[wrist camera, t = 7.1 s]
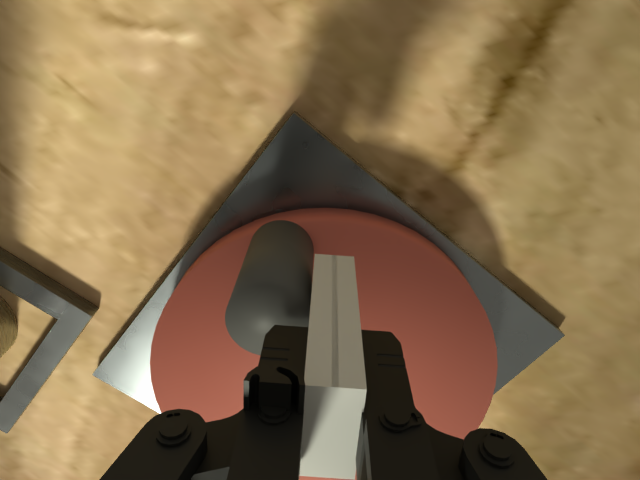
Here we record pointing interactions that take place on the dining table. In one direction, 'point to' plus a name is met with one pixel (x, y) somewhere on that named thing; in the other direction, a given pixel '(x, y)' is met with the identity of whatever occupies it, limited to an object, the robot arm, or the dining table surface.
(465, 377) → the red disc with handle
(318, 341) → the robot arm
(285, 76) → the dining table surface
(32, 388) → the grey flat square frame
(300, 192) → the wheel base
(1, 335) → the metal peg
